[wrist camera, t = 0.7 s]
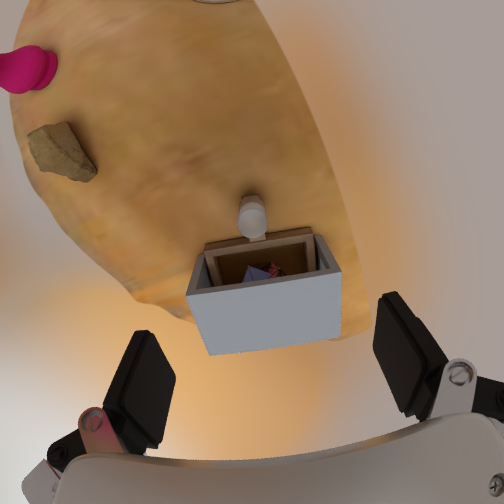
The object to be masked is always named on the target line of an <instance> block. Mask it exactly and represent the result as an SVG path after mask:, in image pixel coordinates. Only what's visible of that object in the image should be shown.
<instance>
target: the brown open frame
mask: <svg viewBox="0 0 504 504" xmlns="http://www.w3.org/2000/svg"><path fill="white" fill-rule="evenodd" d="M267 226H268V222H267V217H266V212H265V206H264V203H263V201H262V200H261V199H260V198H259V196H258V194H257V195H251V196H245V197H242V201H241V202H240V205H239V215H238V229H239V231H240V233H241V234H242V235H243V236H245V237H246V238H240V239H234V240H228V241H222V242H216V243H210V244H206V245H205V249H204V254H205V258H206V261H207V265H208V268H209V271H210V275H211V278H212V282H213V285H214V287H218V286H224V282H223V279H222V275H221V271H220V268H219V264H218V260H217V256H221V255H227V254H233V253H239V252H246V251H252V250H258V249H264V248H270V247H277V246H283V245H289V244H295V243H301V242H304V247H305V258H306V270H307V272H313V271H316V263H315V248H314V235H313V232H312V230H311V228H310V227H308V228H302V229H295V230H289V231H283V232H277V233H270V234H265V232H266V230H267Z"/></svg>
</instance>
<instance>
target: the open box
mask: <svg viewBox="0 0 504 504" xmlns="http://www.w3.org/2000/svg"><path fill="white" fill-rule="evenodd" d="M314 241H315V255H316V271H313V272H307V273H301V274H295V275H289V276H283V277H277V278H271V279H264V280H258V281H251V282H245V283H238V284H231V285H225V286H218V287H214V285H213V282H212V278H211V275H210V271H209V268H208V265H207V261H206V258H205V254H200V255H198V257H197V260H196V264H195V267H194V270H193V273H192V276H191V279H190V282H189V286H188V289H187V292H186V299H187V302H188V304H189V307H190V310H191V312H192V315H193V317H194V320H195V322H196V325H197V327H198V330H199V332H200V334H201V337H202V339H203V341H204V344H205V346H206V349H207V351H208V353H209V355H210V356H211V355H223V354H233V353H242V352H251V351H258V350H266V349H273V348H280V347H287V346H293V345H299V344H305V343H310V342H316V341H320V340H326V339H331V338H336V337H340V326H341V301H342V271H341V269H340V267H339V265H338V264H337V262H336V260H335V258H334V256H333V255H332V253H331V251H330V249H329V248H328V246H327V244H326V242H325V241H324V239H323V237H322V235H317V236H314Z"/></svg>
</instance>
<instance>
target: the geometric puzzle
mask: <svg viewBox="0 0 504 504" xmlns="http://www.w3.org/2000/svg"><path fill="white" fill-rule="evenodd" d="M271 263H272V264H271ZM271 263H270V264H271V266H270V267H266V266H265V267H264V268H270V269H269V271H268V273H267V272H264V271H261V270H262V269H263V268H262V269H261V270H259V269H256V268H253V267H258V266H252V265H251V266H252V267H250V266H249V265H248V268H247V271H246V273H245V276H244V279H243V281H242V283H245V282H251V281H258V280H264V279H271V278H277V277H278V276H276V275H277V273H278V270H279V271H280V270H281V269H280V268H278V267H277V266H276V265H275V264H273V262H271ZM265 264H266V263H265ZM270 264H269V265H270ZM258 265H259V264H258ZM267 266H268V265H267ZM281 271H282V270H281ZM282 272H283V271H282ZM283 273H284V272H283ZM284 274H285V273H284ZM280 275H281V272H280ZM285 275H286V274H285ZM286 276H287V275H286Z"/></svg>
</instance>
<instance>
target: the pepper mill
mask: <svg viewBox="0 0 504 504" xmlns="http://www.w3.org/2000/svg"><path fill="white" fill-rule="evenodd" d="M56 68H57V57H56V55H55V54H54V53H53V52H50V51H45V50H42V49H41V48H40V47H39V46H33V45H30V46H25V47H21V48H19V49H17V50H15V51H12V52H9V53H4V54H0V87H2V88H3V89H5V90H6V91H8V92H10V93H14V94H22V93H25V92H27V91H29V90H40V89H42V88H44V87H45V86H47V85H48V84H49V83H50V81H51V80H52V78H53V77H54V74H55V72H56Z"/></svg>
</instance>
